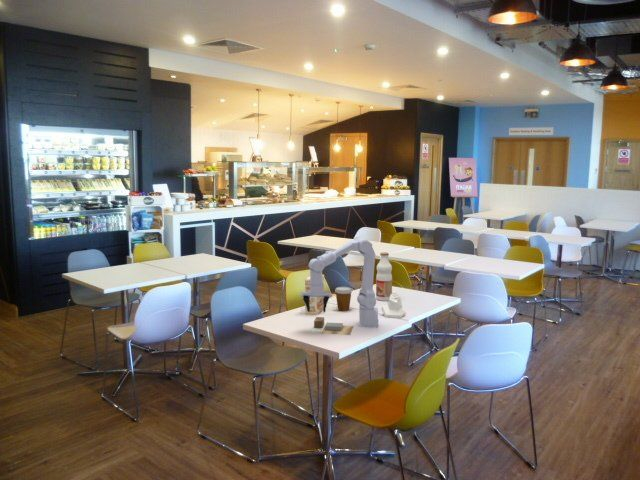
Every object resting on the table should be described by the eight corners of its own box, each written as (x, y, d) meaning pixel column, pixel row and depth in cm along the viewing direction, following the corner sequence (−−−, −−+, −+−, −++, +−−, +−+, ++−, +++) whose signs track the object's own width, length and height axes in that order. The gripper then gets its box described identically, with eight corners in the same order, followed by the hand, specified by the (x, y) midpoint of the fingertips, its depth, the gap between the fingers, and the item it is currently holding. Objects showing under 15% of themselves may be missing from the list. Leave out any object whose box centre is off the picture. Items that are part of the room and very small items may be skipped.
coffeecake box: (317, 315, 285) (317, 279, 282) (304, 314, 287) (304, 279, 284) (324, 308, 299) (324, 274, 296) (312, 307, 301) (312, 273, 298)
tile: (342, 323, 262) (341, 326, 256) (342, 327, 263) (341, 331, 257) (326, 322, 264) (324, 326, 258) (326, 326, 264) (324, 330, 258)
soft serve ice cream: (409, 315, 288) (415, 292, 283) (395, 324, 277) (400, 300, 272) (390, 306, 295) (395, 283, 290) (375, 314, 284) (380, 291, 279)
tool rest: (322, 329, 260) (322, 328, 260) (320, 332, 256) (320, 332, 255) (312, 329, 261) (312, 328, 261) (310, 332, 256) (310, 331, 256)
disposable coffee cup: (354, 310, 293) (354, 289, 292) (339, 312, 290) (339, 291, 288) (347, 306, 302) (347, 285, 300) (332, 308, 299) (332, 287, 297)
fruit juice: (392, 301, 313) (392, 254, 309) (376, 301, 314) (376, 254, 310) (391, 297, 322) (392, 251, 318) (375, 297, 323) (376, 251, 319)
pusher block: (322, 329, 262) (324, 325, 269) (322, 321, 261) (324, 317, 268) (314, 328, 263) (316, 324, 269) (314, 321, 262) (316, 317, 269)
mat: (353, 326, 265) (353, 326, 265) (350, 335, 251) (350, 334, 251) (325, 325, 267) (325, 324, 267) (321, 334, 254) (321, 333, 253)
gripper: (332, 282, 258) (332, 309, 260) (302, 281, 260) (303, 308, 262) (330, 285, 251) (330, 313, 253) (300, 284, 253) (300, 312, 255)
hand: (316, 311), depth 257 cm, fingers open, 7 cm apart
